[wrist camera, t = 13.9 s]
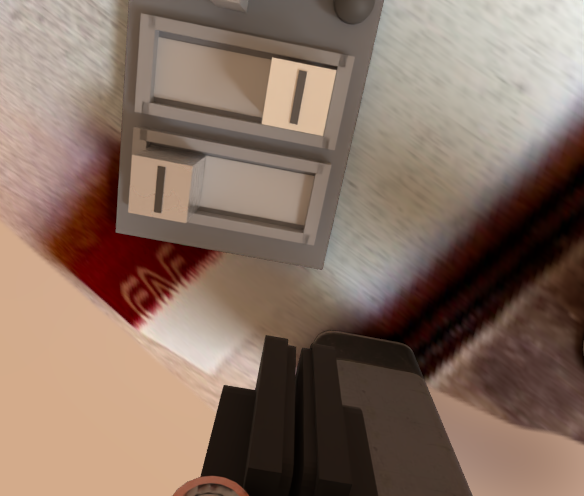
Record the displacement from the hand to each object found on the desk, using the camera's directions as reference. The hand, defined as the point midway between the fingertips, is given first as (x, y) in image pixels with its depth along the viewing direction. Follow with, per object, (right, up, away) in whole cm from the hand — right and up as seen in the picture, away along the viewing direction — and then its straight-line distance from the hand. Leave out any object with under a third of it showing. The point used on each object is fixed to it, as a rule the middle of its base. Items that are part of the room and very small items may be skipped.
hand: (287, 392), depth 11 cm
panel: (-3, +15, +23) cm, 28 cm away
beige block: (-9, +9, +24) cm, 27 cm away
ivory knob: (+1, +14, +22) cm, 26 cm away
